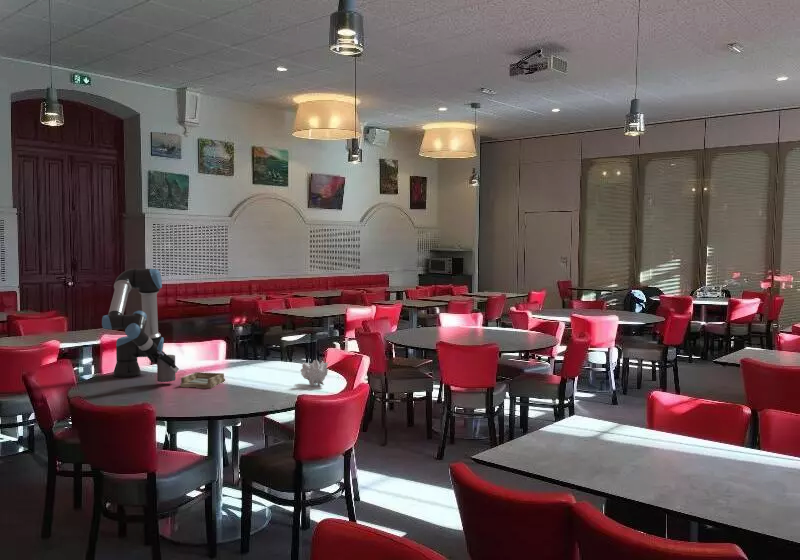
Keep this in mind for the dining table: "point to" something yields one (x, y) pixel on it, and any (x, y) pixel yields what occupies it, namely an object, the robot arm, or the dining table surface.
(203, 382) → the wooden tray
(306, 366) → the grey spiky coral
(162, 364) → the pillar candle
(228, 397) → the dining table surface
